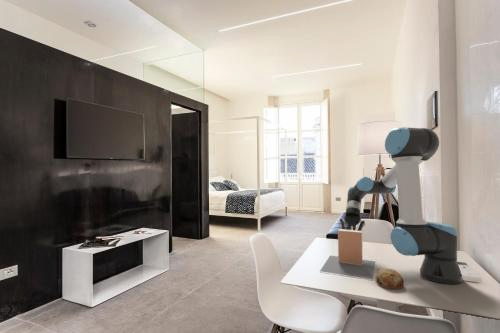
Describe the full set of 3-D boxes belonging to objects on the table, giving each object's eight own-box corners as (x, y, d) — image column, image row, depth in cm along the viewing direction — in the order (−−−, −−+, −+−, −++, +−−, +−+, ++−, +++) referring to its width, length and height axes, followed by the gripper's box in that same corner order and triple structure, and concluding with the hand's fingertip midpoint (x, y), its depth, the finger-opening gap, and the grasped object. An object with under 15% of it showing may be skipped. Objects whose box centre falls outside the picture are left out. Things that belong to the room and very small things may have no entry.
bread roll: (374, 290, 118) (367, 273, 117) (391, 276, 121) (384, 260, 120) (394, 300, 109) (387, 282, 107) (411, 285, 112) (405, 267, 111)
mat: (330, 256, 151) (330, 255, 151) (375, 262, 142) (375, 261, 142) (319, 272, 128) (319, 271, 128) (373, 280, 118) (373, 279, 118)
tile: (339, 260, 142) (338, 229, 142) (362, 263, 138) (362, 231, 137) (338, 262, 140) (337, 230, 139) (362, 265, 135) (361, 232, 134)
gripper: (366, 215, 156) (364, 254, 140) (341, 214, 161) (337, 251, 146) (365, 207, 151) (363, 246, 136) (340, 205, 157) (335, 243, 141)
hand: (349, 248), depth 141 cm, fingers closed
